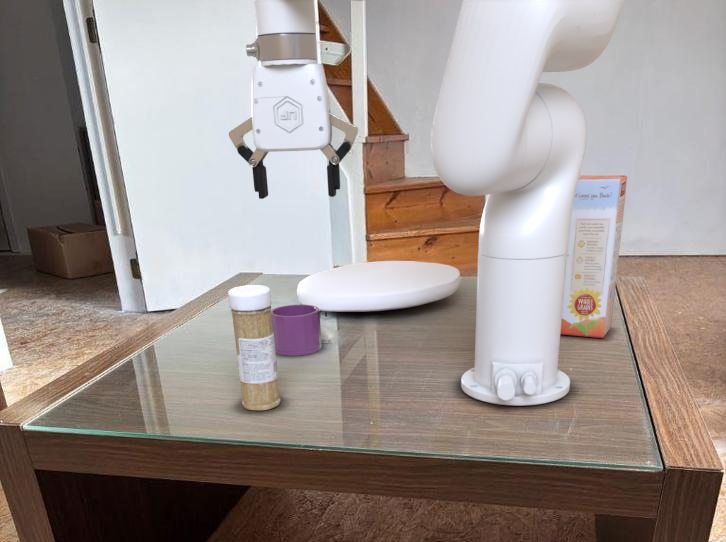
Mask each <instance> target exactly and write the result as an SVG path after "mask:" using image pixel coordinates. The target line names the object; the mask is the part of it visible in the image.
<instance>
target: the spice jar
mask: <svg viewBox="0 0 726 542" xmlns="http://www.w3.org/2000/svg"><path fill="white" fill-rule="evenodd" d="M271 294H272V293H271V289H270V287H268V286H267V285H264V284H263V285H262V284H247V285H245V284H244V285H240V286H235V287H232V288H231V289H229V290H228V291H227V297H228V305H229V308H230V312H231V316H232V324H233V333H234V341H235V349H236V351H235V352H236V363H237V370H238V378H239V379H238V380H239V381H240V391H241V399H242V400H241V405H242V407H243V408H245V409H246V410H249V411H260V412H261V411H268V410H272V409H274V408H276V407H278V406H279V405H280V404H281V400H282V399H281V396H280V390H279V382H278V381H279V380H278V376H279V373H278V363H277V353H276V352H275V342H274V333H273V327H272V318H271V310H272V304H273V303H272V301H273V300H272V295H271Z"/></svg>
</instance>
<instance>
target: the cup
mask: <svg viewBox="0 0 726 542" xmlns="http://www.w3.org/2000/svg"><path fill="white" fill-rule="evenodd" d="M271 318H272V327H273V333H274V342H275V352H276V355H280V356H286V357H298V356H299V357H300V356H307V355H311V354H314V353H317V352H319V351H320V350H321V349H322V328H321V314H320V310H319V308H318V307H316V306H313V305H304V304H302V303H301V304H287V305H282V306H277V307H275V308H271Z"/></svg>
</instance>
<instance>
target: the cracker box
mask: <svg viewBox="0 0 726 542" xmlns="http://www.w3.org/2000/svg"><path fill="white" fill-rule="evenodd" d="M627 182H628V176H627V175H626V174H621V175H619V174H618V175H579V179H578V183H577V187H576V192H575V197H574V203H573V209H572V216H571V225H570V235H569V246H568V252H567V263H566V275H565V286H564V298H563V310H562V321H561V333H560V335H564V336H566V335H567V336H575V337H576V336H577V337H585V338H586V337H587V338H597V339H599V338H600V339H604V337H605V336H606V335H607V333H608V332H609V331H610V329H612V323H613V312H614V303H615V295H616V288H617V287H616V285H617V279H618V278H617V277H618V268H619V258H620V249H621V248H620V247H621V239H622V231H623V223H624V213H625V203H626V193H627V185H628V183H627Z"/></svg>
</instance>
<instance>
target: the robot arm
mask: <svg viewBox="0 0 726 542" xmlns="http://www.w3.org/2000/svg"><path fill="white" fill-rule="evenodd" d="M252 1H253V12H254V23H255V34H256V37H255V38H254V39H255V41H254V42H252V43H250V44H249V43H248V44H246V47H245V51H246V56H247V57H253V58H255V59H256V60H257V62H258V65H257V66H252V72H251V90H250V91H251V117H250V118H248V119H246V120H245V121H244V122H242V123H241V124H239V125H238V126H236V127H234V128H233V129H231V130H230V131H229V132H228V137H229V139H230V141H231V143H232V144H233V146H234V147H235V149H236V150H237V153H238V155H239V156H241V158H242V159H244V160H245V162H247V163H248V166H250V167H251V168H252V179H253V189H254V192H255V193H258V199H259V200H263V199H265V198H267V197H268V196H269V186H268V175H267V174H268V173H267V167H266V166H265V164H264V160H265V158H266V157H267V155H269V153H271V152H272V153H273V152H304V151H306V152H307V151H318V150H320V151H321V152H322V154H323V155H324V156H325V157H326V158H327V159H328V165H327V166H326V175H327V189H328V190H327V192H328V193H327V195H328V196H329V197H330V198H334V197H335V196H336V195H337V191H338V190H341V174H340V173H341V172H340V171H341V170H340V163H341V162H342V161H343V159H344V158H345V157H346V156H347V154H348V153H349V152H350V151H351V150H352V148H353V145H354V142H355V140H356V138H357V137H358V134H359V127H358V126H357V125H355V124H353V123H351V122H350V121H347V120H345V119H343V118H342V117H340V116H338V115H336V114H334V113H332V112H331V105H330V97H329V91H328V89H329V88H328V84H327V82H328V81H327V78H326V73H325V69H324V65H323V63H319V62H318V44H317V43H318V42H317V25H316V11H315V10H316V9H315V0H252ZM348 1H349V2H352V1H353V2H364V1H365V0H348ZM625 3H626V0H462V2H461V5H460V9H459V13H458V17H457V20H456V24H455V28H454V32H453V36H452V40H451V44H450V49H449V53H448V55H447V56H448V57H447V60H446V65H445V69H444V73H443V76H442V81H441V86H440V90H439V93H438V98H437V102H436V105H435V110H434V114H433V119H432V125H431V131H430V132H431V133H430V155H431V159H432V164H433V167H434V170H435V172H436V174H437V176H438V178H439V179H440V181H441V182H442V183H443V185H445V186H446V187H447V189H449V190H451V191H453V192H454V193H456V194H459V195H463V196H468V197H479V196H487V197H486V201H485V203H484V207H483V211H482V213H481V214H482V215H481V218H480V224H479V230H478V231H479V232H478V250H477V275H476V276H477V278H476V279H477V280H476V304H475V305H476V307H475V309H476V310H475V311H476V312H475V342H474V367H472V368H469V369H467V370H466V371H465V372H464V373H463V374H462V376H461V377H460V388H461V390H462V391H463V392H464V393H465V394H466V395H468V396H469V397H471V398H473V399H475V400H478V401H480V402H484V403H489V404H493V405H501V406H513V407H517V406H518V407H520V406H521V407H522V406H523V407H524V406H537V405H543V404H548V403H552V402H555V401H558V400H560V399H562V398H563V397H565V396H567V394H568V393H569V392H570V389H571V378H570V377H569V376H568V375H567V374H566V373H565V372H563V371H561V370H560V369H559V368H558V367H559V357H560V356H559V355H560V354H559V353H560V344H561V343H560V342H561V334H560V333H561V321H562V310H563V298H564V286H565V275H566V263H567V252H568V246H569V235H570V225H571V216H572V209H573V203H574V197H575V192H576V187H577V183H578V179H579V176H581V170H582V166H583V163H584V159H585V153H586V146H587V137H588V135H587V122H586V118H585V114H584V111H583V109H582V107H581V105H580V104H579V102H578V101H577V99H576V98H575V97H574V96H573V95H572V94H571V93H570V92H568V91H567V90H565V89H564V88H563V87H561V86H560V87H559V86H557V85H554V84H551V83H546V82H545V83H544V82H540V79H541V77H542V74H543V73H565V72H573V71H578V70H581V69H584V68H586V67H588V66H589V65H591V64H593V63H594V62H595V61H596V60H598V59H599V58H600V57H601V55H602V54H603V53H604V51H605V50H606V49H607V47H608V46H609V44H610V41H611V39H612V37H613V34H614V32H615V29H616V27H617V24H618V21H619V18H620V16H621V13H622V10H623V8H624V5H625ZM333 127H334V128H336V129H338V130H340V131H341V132H343V133H344V135H345V136H344V140H343V141H342V144H341V145H340V146H339V147H338V148H335V147H334V146H333V144H332V141H333ZM251 131H252V140H253V144H254V147H255V150H254V151H253V150H252V149H251V148H250V147H249V146H248V145H247V144H246V142H245V140H244V137H245V135H247V134H248V133H249V132H251Z"/></svg>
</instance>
